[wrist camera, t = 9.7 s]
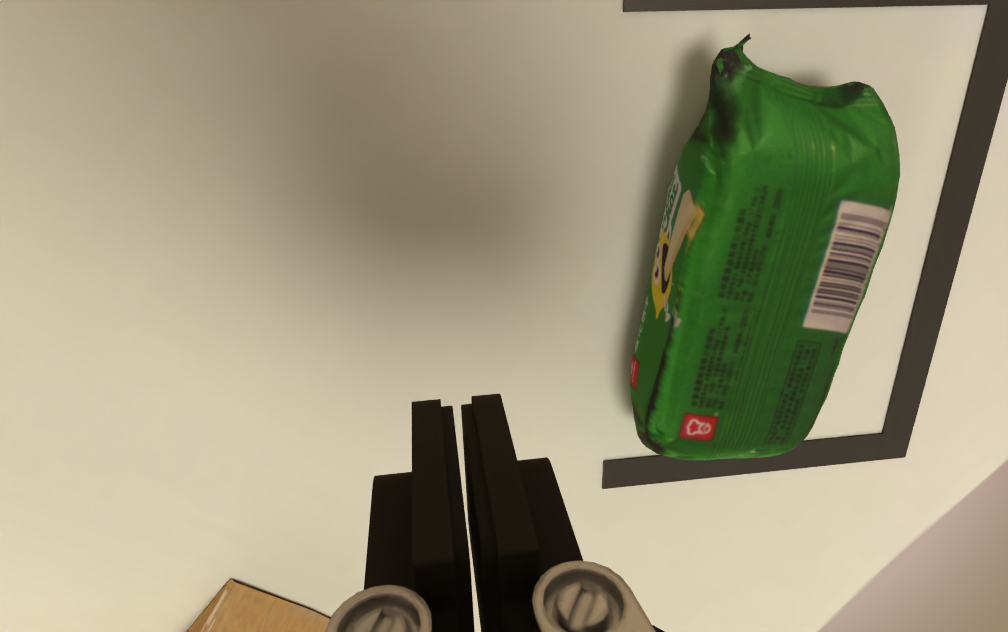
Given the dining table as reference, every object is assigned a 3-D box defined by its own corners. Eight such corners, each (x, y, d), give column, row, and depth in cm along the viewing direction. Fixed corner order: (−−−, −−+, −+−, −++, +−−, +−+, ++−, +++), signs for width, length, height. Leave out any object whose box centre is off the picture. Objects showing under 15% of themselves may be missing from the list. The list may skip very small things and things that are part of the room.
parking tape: (625, -39, 20) (626, -40, 20) (1038, -43, 22) (1041, -44, 22) (602, 487, 29) (602, 488, 29) (903, 456, 30) (905, 457, 30)
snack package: (857, 70, 23) (971, 71, 18) (747, 431, 28) (813, 505, 24) (676, 45, 22) (747, 38, 17) (600, 425, 27) (637, 501, 23)
